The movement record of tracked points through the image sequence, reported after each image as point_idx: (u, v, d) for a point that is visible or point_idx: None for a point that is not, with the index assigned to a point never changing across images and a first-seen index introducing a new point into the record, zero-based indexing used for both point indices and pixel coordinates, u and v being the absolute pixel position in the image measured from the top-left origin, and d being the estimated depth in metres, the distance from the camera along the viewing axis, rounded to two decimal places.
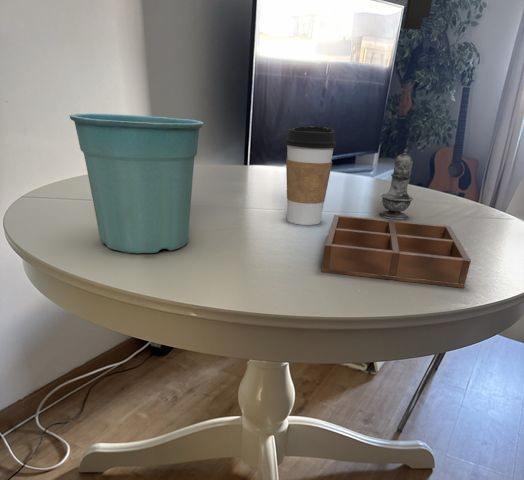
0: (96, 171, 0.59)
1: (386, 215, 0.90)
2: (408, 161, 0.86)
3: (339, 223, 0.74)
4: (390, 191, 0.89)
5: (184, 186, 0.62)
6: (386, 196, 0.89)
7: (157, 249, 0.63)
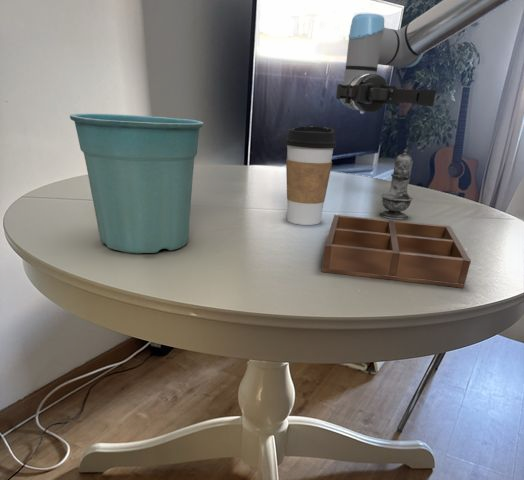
0: (96, 171, 0.59)
1: (386, 215, 0.90)
2: (408, 161, 0.86)
3: (339, 223, 0.74)
4: (390, 191, 0.89)
5: (184, 186, 0.62)
6: (386, 196, 0.89)
7: (157, 249, 0.63)
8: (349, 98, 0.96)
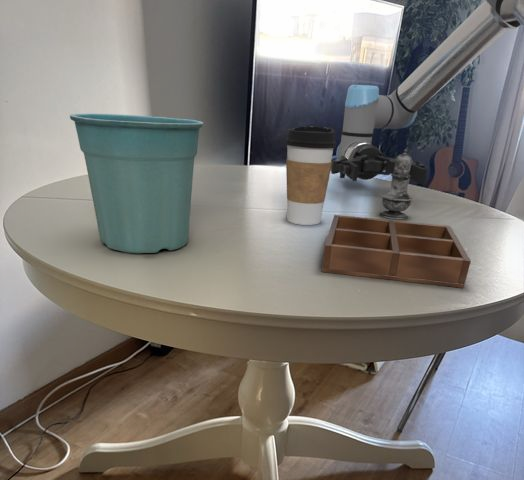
0: (96, 171, 0.59)
1: (386, 215, 0.90)
2: (408, 161, 0.86)
3: (339, 223, 0.74)
4: (390, 191, 0.89)
5: (184, 186, 0.62)
6: (386, 196, 0.89)
7: (157, 249, 0.63)
8: (344, 173, 1.00)
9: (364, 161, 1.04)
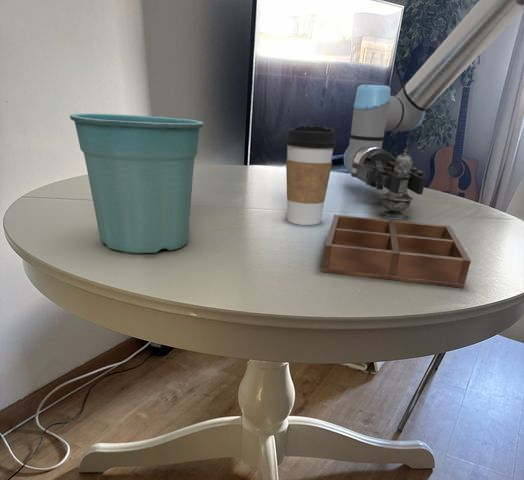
0: (96, 171, 0.59)
1: (386, 215, 0.90)
2: (408, 161, 0.86)
3: (339, 223, 0.74)
4: (390, 191, 0.89)
5: (184, 186, 0.62)
6: (386, 196, 0.89)
7: (157, 249, 0.63)
8: (382, 184, 0.90)
9: (382, 168, 0.96)
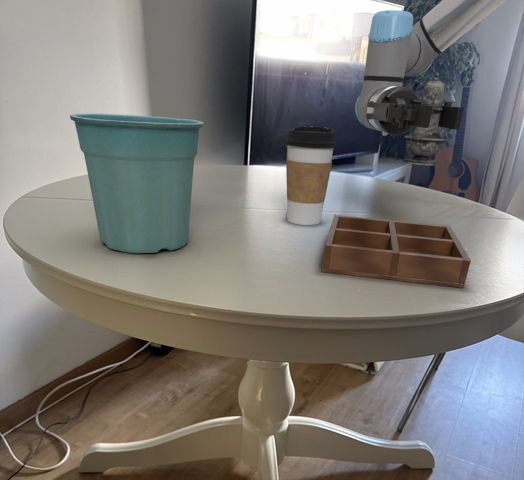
0: (96, 171, 0.59)
1: (411, 161, 0.72)
2: (441, 88, 0.67)
3: (339, 223, 0.74)
4: (416, 129, 0.70)
5: (184, 186, 0.62)
6: (411, 136, 0.70)
7: (157, 249, 0.63)
8: (406, 122, 0.71)
9: None
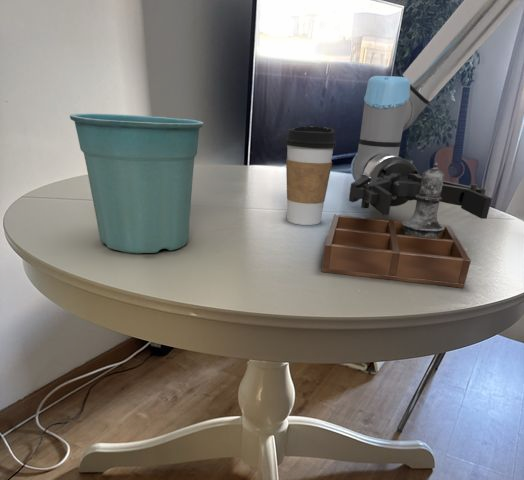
0: (96, 171, 0.59)
1: None
2: (440, 179, 0.64)
3: (339, 223, 0.74)
4: (414, 218, 0.67)
5: (184, 186, 0.62)
6: (409, 224, 0.67)
7: (157, 249, 0.63)
8: None
9: (394, 182, 0.74)
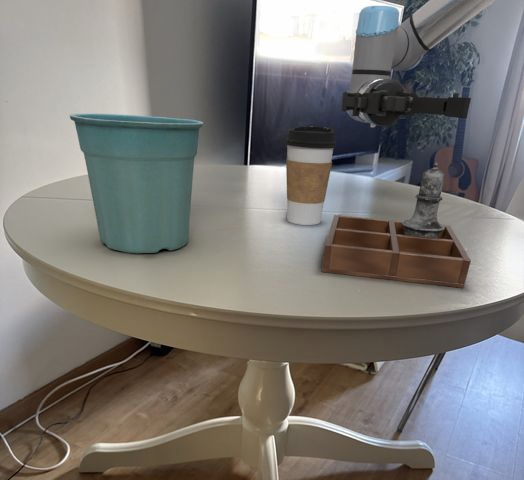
0: (96, 171, 0.59)
1: None
2: (440, 179, 0.64)
3: (339, 223, 0.74)
4: (414, 218, 0.67)
5: (184, 186, 0.62)
6: (409, 224, 0.67)
7: (157, 249, 0.63)
8: (358, 109, 0.75)
9: (383, 97, 0.80)
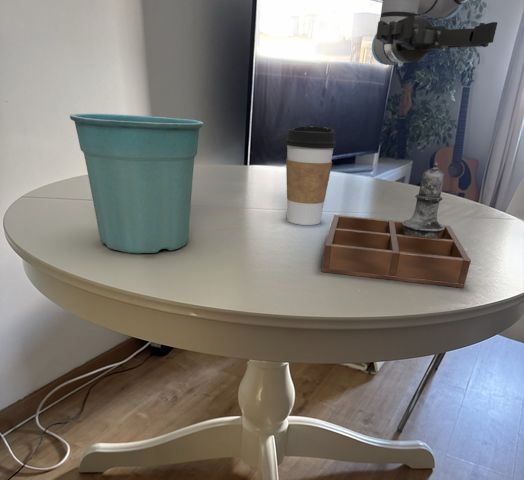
0: (96, 171, 0.59)
1: None
2: (440, 179, 0.64)
3: (339, 223, 0.74)
4: (414, 218, 0.67)
5: (184, 186, 0.62)
6: (409, 224, 0.67)
7: (157, 249, 0.63)
8: (392, 37, 0.82)
9: (414, 30, 0.87)
